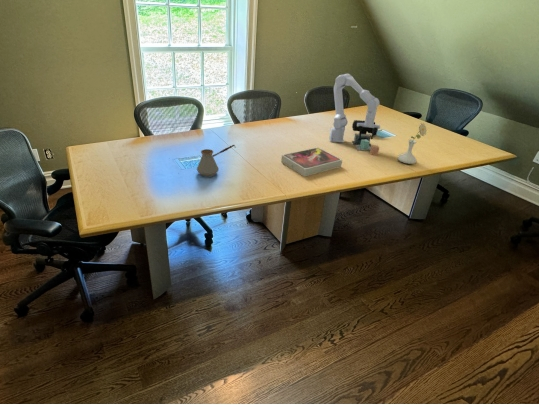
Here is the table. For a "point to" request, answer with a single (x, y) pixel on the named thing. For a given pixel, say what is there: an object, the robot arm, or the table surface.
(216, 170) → the coffee pot
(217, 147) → the table surface
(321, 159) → the product packaging
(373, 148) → the salmon pink block
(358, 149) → the pad
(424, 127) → the flower in vase
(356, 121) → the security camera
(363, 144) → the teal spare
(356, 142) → the block
